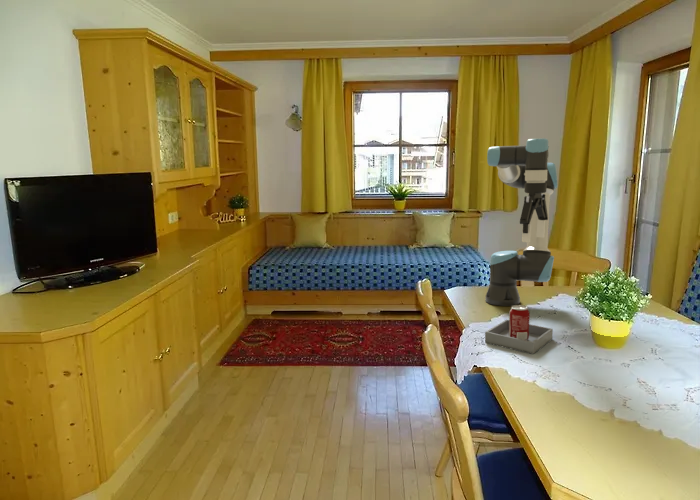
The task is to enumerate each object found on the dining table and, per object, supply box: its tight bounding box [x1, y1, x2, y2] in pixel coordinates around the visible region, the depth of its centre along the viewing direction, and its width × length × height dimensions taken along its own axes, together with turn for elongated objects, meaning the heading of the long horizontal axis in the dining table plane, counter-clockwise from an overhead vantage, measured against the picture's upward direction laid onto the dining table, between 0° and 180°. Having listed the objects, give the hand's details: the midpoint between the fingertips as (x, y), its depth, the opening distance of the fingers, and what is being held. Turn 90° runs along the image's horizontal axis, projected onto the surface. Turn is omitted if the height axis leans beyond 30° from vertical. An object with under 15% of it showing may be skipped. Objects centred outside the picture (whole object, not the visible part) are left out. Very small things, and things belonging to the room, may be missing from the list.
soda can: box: [508, 304, 530, 340], centre depth 173 cm, size 7×7×12 cm
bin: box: [484, 319, 554, 355], centre depth 174 cm, size 17×17×4 cm
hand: (533, 239), depth 181 cm, fingers open, 13 cm apart
